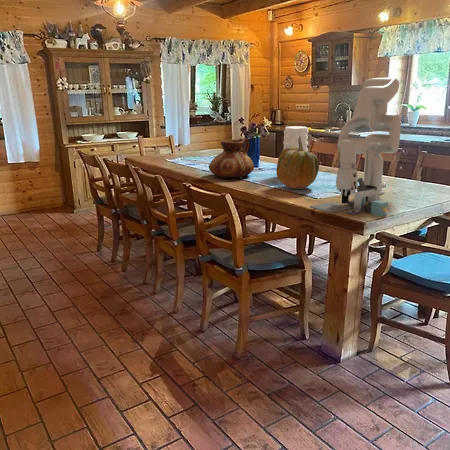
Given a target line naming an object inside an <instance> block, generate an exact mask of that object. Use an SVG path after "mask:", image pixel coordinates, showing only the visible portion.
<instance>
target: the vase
mask: <svg viewBox="0 0 450 450" xmlns="http://www.w3.org/2000/svg"><path fill="white" fill-rule="evenodd" d="M309 132H310V131H309V127H308V126H300V125H298V126H297V125H293V126H292V125H291V126H289V125H288V126H285V128H284V130H283V134H284V135H283V142H282V143H283V149H282V150H284V149H285V148H288V147H291V146H295V147H297V148H299V143H298V138H299V136H301V142H302V146H303V150H304V151H308V152H309V148H308V145H309V141H308V139H309Z"/></svg>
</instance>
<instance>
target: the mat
mask: <svg viewBox="0 0 450 450" xmlns="http://www.w3.org/2000/svg"><path fill="white" fill-rule="evenodd" d="M309 208H312V209H315V210H319V211H322V212H325V213H329V214H334V213H339V212H343V211H349V210H353V208H351V207H347V205H344V204H343V205H342V204H338V203H335V202H325V203H320V204H314V205H310V206H309Z"/></svg>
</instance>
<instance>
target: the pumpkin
mask: <svg viewBox="0 0 450 450" xmlns="http://www.w3.org/2000/svg"><path fill="white" fill-rule="evenodd" d="M298 143H299V148H297V147H295V146H291V147H288V148H285V149H284V148H283V149H284V150H283V149H282V150H281V152H280V153H279V156H278V160H277V164H276V169H275V170H276V172H275V173H276V176H277V179H278V181H279V182H280V183H281V184H282V185H284V186H285V187H287V188H290V189H294V190H302V189H303V190H304V189H307V188H308V187H309V186H311V184H312V185H313V183H314V182H315V180H316V178H317V177H318V174H319V169H320V163H319V159H318V157H317V156H316V155H315V154H314V153H311V152H310V151H309V150H308V151H304V150H303V146H302V142H301V136H299V138H298Z"/></svg>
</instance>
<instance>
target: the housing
mask: <svg viewBox="0 0 450 450" xmlns="http://www.w3.org/2000/svg"><path fill="white" fill-rule="evenodd" d="M380 195H381V194H380V191H379V190H374V189H372V190H366V191H361V192H357V191H355V193H354V197H353V198H354V199H353V201H354V208H353V209H349V210H345V214H346V213H347V215H350V216H356V215H359V214H364V212H365V204H366V202H367V201H366V196H368V202H367V205H372V201H376V200H380ZM365 213H366V212H365Z"/></svg>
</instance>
